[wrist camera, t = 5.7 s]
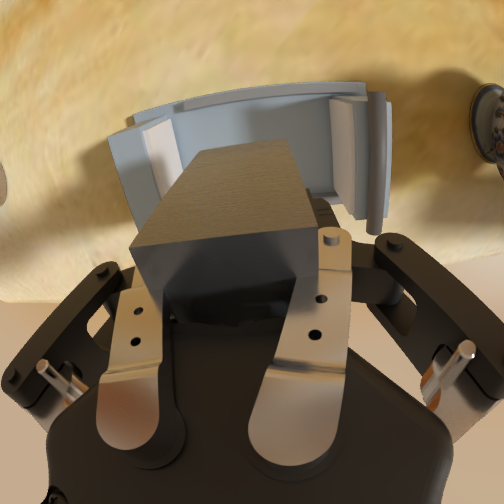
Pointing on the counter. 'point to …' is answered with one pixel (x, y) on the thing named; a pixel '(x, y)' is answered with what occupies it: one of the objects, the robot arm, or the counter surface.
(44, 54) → the counter surface
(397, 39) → the counter surface
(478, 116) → the apothecary jar
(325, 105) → the vise base
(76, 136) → the counter surface
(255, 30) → the counter surface
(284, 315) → the block
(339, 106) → the free jaw
